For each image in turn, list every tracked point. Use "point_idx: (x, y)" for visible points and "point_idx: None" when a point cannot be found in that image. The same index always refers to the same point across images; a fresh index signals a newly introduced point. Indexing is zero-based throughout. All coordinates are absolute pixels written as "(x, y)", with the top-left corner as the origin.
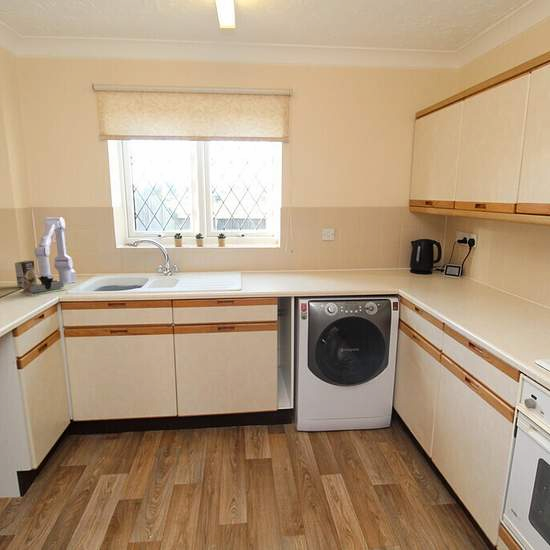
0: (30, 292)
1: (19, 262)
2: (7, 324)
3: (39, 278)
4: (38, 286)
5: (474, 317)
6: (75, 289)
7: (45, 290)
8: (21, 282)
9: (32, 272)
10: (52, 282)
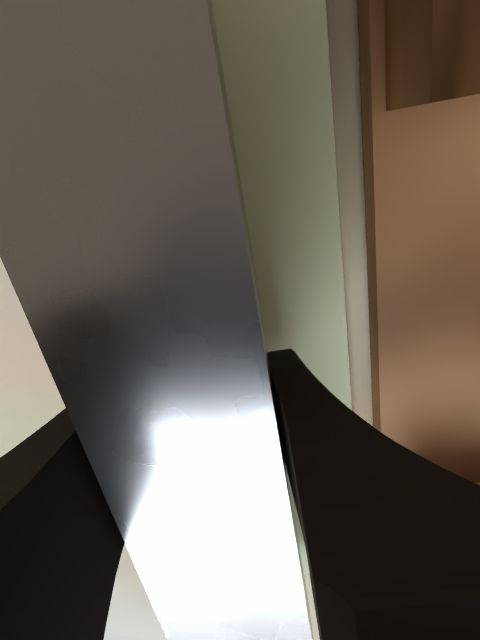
0: (365, 16)
1: None
2: None
3: (341, 566)
4: (7, 233)
5: None
6: (116, 628)
7: (281, 347)
8: None
9: None
10: (274, 603)
